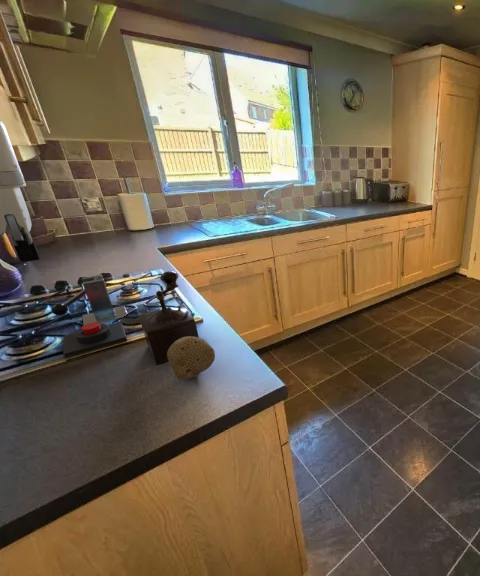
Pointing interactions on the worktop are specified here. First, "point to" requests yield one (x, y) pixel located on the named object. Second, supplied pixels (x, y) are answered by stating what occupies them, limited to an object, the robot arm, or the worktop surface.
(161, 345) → the manual coffee grinder
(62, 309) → the switch lever
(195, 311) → the worktop surface
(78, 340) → the control block
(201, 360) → the natural sponge
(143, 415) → the worktop surface
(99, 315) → the switch bracket
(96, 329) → the stop button
